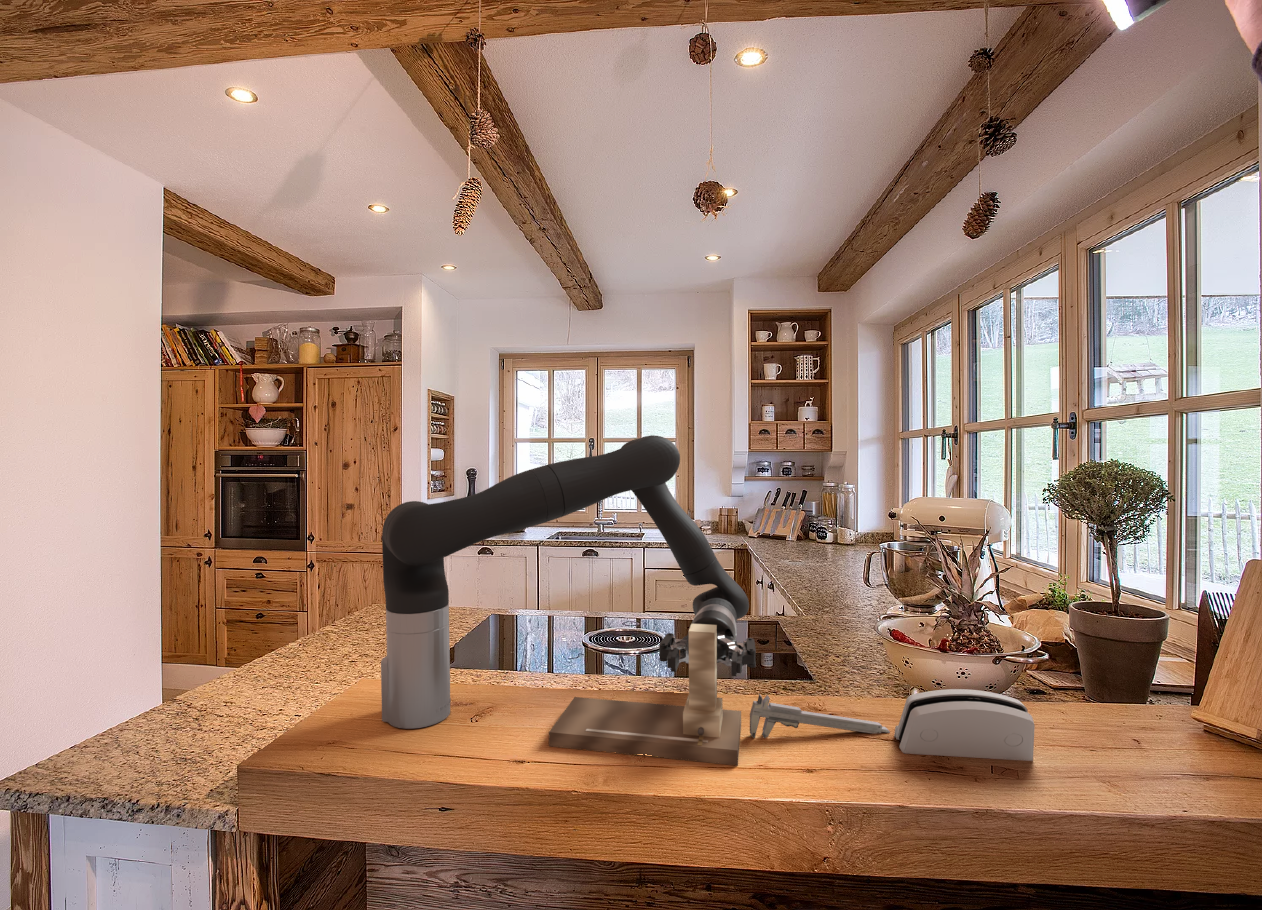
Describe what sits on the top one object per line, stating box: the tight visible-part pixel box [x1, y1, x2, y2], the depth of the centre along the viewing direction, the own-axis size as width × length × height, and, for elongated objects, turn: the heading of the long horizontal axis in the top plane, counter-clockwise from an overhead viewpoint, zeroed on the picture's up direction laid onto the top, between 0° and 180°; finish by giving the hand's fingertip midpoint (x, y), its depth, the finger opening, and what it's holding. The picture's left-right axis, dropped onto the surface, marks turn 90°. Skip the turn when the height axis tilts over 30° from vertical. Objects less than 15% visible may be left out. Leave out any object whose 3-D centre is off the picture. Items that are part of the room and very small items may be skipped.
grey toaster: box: [894, 688, 1036, 762], centre depth 83 cm, size 17×5×10 cm, turn 82°
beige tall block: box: [683, 623, 723, 738], centre depth 87 cm, size 5×7×14 cm
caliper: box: [749, 693, 891, 739], centre depth 89 cm, size 20×1×6 cm, turn 94°
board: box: [548, 696, 742, 766], centre depth 89 cm, size 26×12×2 cm, turn 78°
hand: (703, 667), depth 87 cm, fingers open, 8 cm apart
